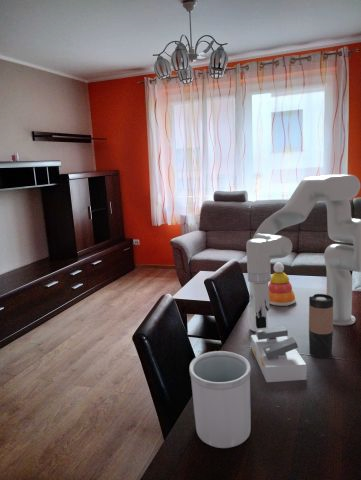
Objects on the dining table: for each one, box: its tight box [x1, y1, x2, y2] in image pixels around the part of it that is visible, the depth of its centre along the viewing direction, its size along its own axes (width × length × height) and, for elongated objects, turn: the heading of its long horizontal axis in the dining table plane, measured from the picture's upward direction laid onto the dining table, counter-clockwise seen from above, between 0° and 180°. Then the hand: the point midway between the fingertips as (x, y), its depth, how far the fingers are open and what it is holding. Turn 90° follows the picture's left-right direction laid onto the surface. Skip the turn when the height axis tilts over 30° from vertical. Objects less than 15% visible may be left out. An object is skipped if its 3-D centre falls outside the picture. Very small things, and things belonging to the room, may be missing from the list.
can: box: [248, 303, 268, 333], centre depth 148 cm, size 7×7×12 cm
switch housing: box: [250, 334, 307, 383], centre depth 123 cm, size 22×12×6 cm, turn 1°
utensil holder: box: [189, 350, 252, 449], centre depth 93 cm, size 15×15×18 cm
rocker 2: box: [263, 336, 299, 359], centre depth 117 cm, size 4×10×2 cm, turn 91°
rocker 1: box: [255, 325, 289, 340], centre depth 128 cm, size 4×10×2 cm, turn 91°
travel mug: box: [308, 293, 334, 359], centre depth 127 cm, size 8×8×20 cm
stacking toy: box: [268, 261, 297, 307], centre depth 175 cm, size 14×14×20 cm
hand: (261, 327), depth 128 cm, fingers closed
